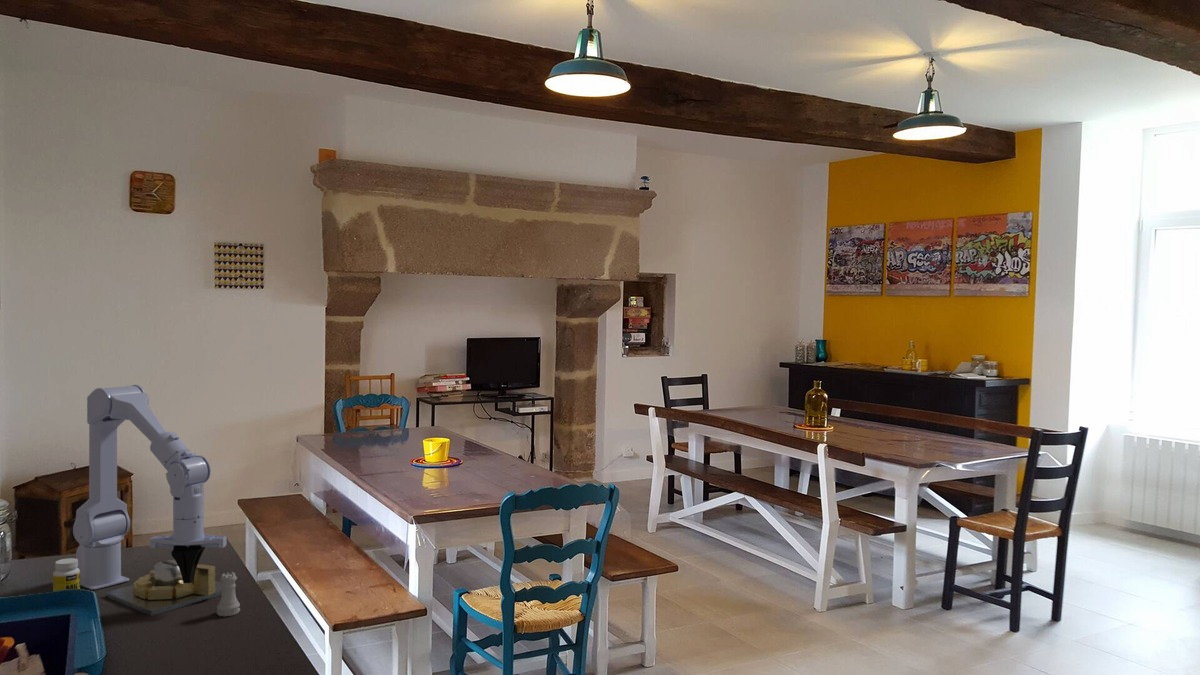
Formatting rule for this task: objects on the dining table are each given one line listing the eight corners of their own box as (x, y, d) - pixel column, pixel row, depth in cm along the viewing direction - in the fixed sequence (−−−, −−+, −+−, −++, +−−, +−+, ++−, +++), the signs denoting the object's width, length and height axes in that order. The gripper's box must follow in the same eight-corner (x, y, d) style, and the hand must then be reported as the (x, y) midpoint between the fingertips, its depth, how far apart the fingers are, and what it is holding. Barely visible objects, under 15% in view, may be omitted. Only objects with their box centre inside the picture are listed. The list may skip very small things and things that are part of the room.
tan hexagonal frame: (164, 607, 174) (164, 580, 174) (123, 590, 183) (123, 563, 183) (226, 590, 184) (226, 564, 184) (184, 574, 194) (183, 549, 194)
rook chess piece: (245, 611, 176) (245, 572, 176) (227, 618, 172) (227, 578, 172) (229, 607, 178) (229, 569, 177) (211, 615, 174) (211, 575, 173)
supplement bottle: (67, 606, 177) (66, 565, 177) (47, 604, 178) (46, 563, 177) (85, 598, 182) (85, 558, 181) (66, 596, 183) (65, 556, 182)
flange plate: (105, 596, 183) (105, 565, 182) (187, 575, 198) (187, 546, 197) (151, 615, 173) (151, 582, 172) (234, 591, 187) (234, 561, 187)
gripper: (231, 511, 183) (231, 575, 184) (160, 511, 182) (160, 575, 183) (219, 520, 176) (219, 586, 177) (145, 520, 175) (145, 586, 176)
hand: (188, 581), depth 180 cm, fingers closed
